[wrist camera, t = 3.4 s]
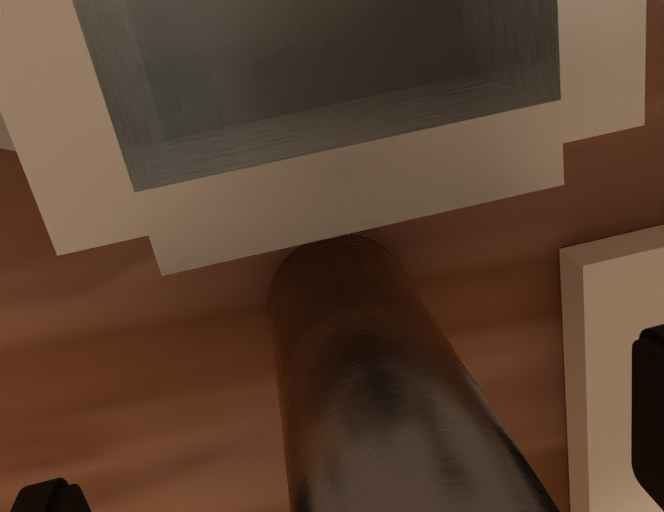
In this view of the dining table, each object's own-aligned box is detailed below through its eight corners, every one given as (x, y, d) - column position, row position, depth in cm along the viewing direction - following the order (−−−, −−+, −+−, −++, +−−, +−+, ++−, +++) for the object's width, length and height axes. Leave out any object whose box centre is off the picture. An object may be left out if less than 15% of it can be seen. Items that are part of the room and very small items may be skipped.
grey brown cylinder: (396, 220, 15) (641, 535, 6) (414, 343, 17) (638, 754, 7) (254, 252, 15) (280, 632, 6) (285, 374, 16) (347, 838, 7)
